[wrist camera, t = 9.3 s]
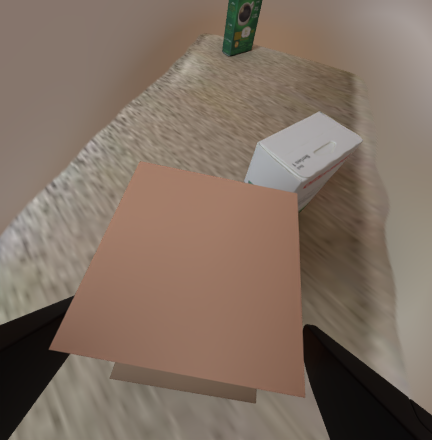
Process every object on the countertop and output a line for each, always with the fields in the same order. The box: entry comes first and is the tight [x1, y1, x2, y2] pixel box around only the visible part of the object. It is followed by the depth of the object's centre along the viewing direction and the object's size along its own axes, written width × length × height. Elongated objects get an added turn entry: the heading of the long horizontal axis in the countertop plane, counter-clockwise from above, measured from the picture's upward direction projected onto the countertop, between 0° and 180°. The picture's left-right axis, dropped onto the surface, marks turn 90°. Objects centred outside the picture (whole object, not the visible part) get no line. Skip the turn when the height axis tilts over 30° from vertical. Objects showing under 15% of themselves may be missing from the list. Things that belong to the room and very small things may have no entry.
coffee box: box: [222, 0, 262, 56], centre depth 44 cm, size 8×3×13 cm, turn 132°
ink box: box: [244, 112, 363, 213], centre depth 21 cm, size 9×5×12 cm, turn 129°
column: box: [49, 161, 305, 398], centre depth 11 cm, size 5×5×13 cm
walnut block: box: [110, 362, 256, 403], centre depth 18 cm, size 10×10×4 cm
